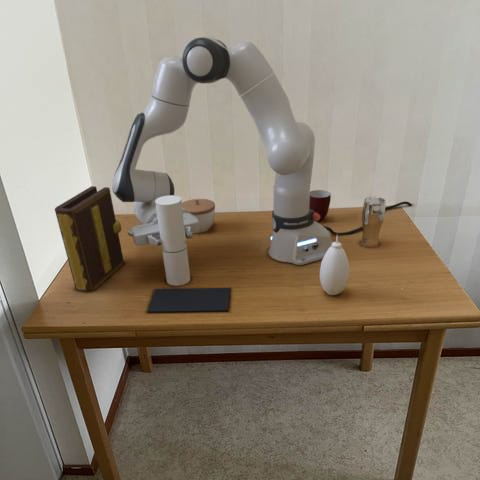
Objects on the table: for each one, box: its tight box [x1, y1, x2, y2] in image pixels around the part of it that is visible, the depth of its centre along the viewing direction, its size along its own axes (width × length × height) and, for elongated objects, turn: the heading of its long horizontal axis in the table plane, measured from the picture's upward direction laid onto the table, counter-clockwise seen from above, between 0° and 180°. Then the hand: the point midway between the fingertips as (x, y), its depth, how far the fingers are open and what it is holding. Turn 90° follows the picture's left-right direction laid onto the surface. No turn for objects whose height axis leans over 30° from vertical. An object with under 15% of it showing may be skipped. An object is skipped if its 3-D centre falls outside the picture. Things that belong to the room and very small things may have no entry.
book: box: [54, 185, 125, 293], centre depth 146 cm, size 22×8×25 cm, turn 162°
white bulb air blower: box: [319, 234, 350, 296], centre depth 133 cm, size 8×8×18 cm
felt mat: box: [146, 287, 231, 314], centre depth 138 cm, size 22×12×1 cm, turn 88°
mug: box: [309, 189, 332, 223], centre depth 178 cm, size 11×8×10 cm
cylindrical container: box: [155, 195, 191, 287], centre depth 141 cm, size 7×7×25 cm
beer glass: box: [360, 196, 386, 248], centre depth 159 cm, size 7×7×15 cm
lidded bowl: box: [182, 198, 216, 234], centre depth 176 cm, size 13×13×11 cm
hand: (174, 239), depth 140 cm, fingers open, 8 cm apart
